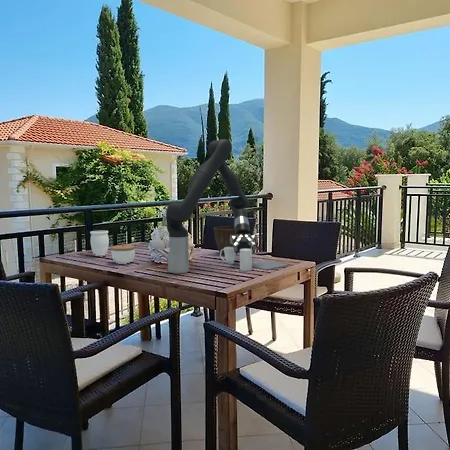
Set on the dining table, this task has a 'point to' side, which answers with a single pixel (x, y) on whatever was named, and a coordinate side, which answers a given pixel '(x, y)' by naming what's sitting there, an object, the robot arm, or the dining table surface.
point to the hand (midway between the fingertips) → (245, 252)
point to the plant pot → (224, 237)
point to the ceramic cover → (245, 259)
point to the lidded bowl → (123, 253)
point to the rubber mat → (267, 265)
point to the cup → (229, 254)
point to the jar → (99, 242)
